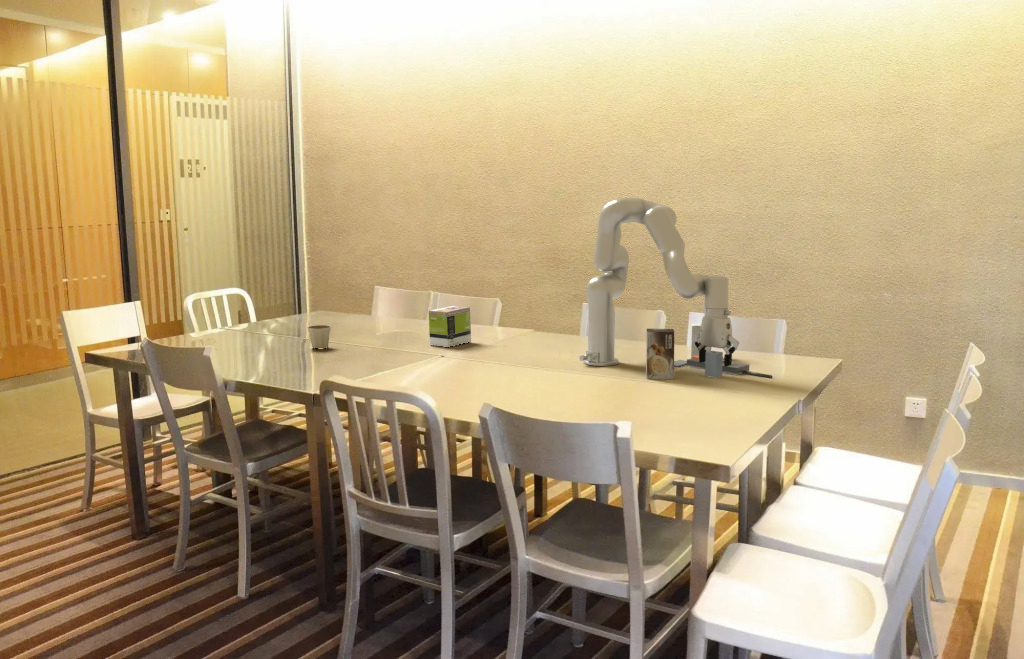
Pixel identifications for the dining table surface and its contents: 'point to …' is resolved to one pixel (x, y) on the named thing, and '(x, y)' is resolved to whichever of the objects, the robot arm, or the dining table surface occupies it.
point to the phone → (680, 363)
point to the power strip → (726, 367)
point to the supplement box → (694, 331)
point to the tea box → (449, 326)
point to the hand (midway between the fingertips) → (715, 363)
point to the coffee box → (660, 354)
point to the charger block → (713, 363)
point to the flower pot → (319, 335)
